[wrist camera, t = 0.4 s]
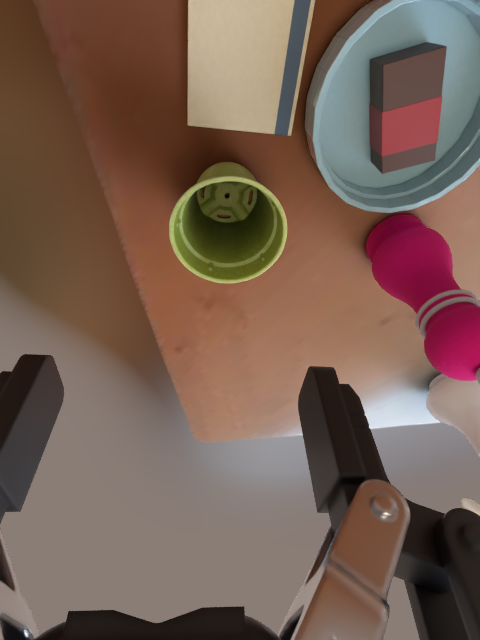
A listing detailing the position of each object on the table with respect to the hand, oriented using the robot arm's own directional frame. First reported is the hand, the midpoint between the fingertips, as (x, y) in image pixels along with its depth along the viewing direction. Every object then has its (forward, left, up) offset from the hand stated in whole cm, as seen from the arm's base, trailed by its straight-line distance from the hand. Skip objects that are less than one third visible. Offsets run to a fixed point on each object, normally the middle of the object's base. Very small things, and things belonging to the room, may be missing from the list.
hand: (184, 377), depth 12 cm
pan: (-4, +16, -27) cm, 32 cm away
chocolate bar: (-4, +16, -27) cm, 31 cm away
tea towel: (-9, +3, -27) cm, 29 cm away
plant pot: (+5, +2, -27) cm, 28 cm away
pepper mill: (+9, +21, -27) cm, 35 cm away
